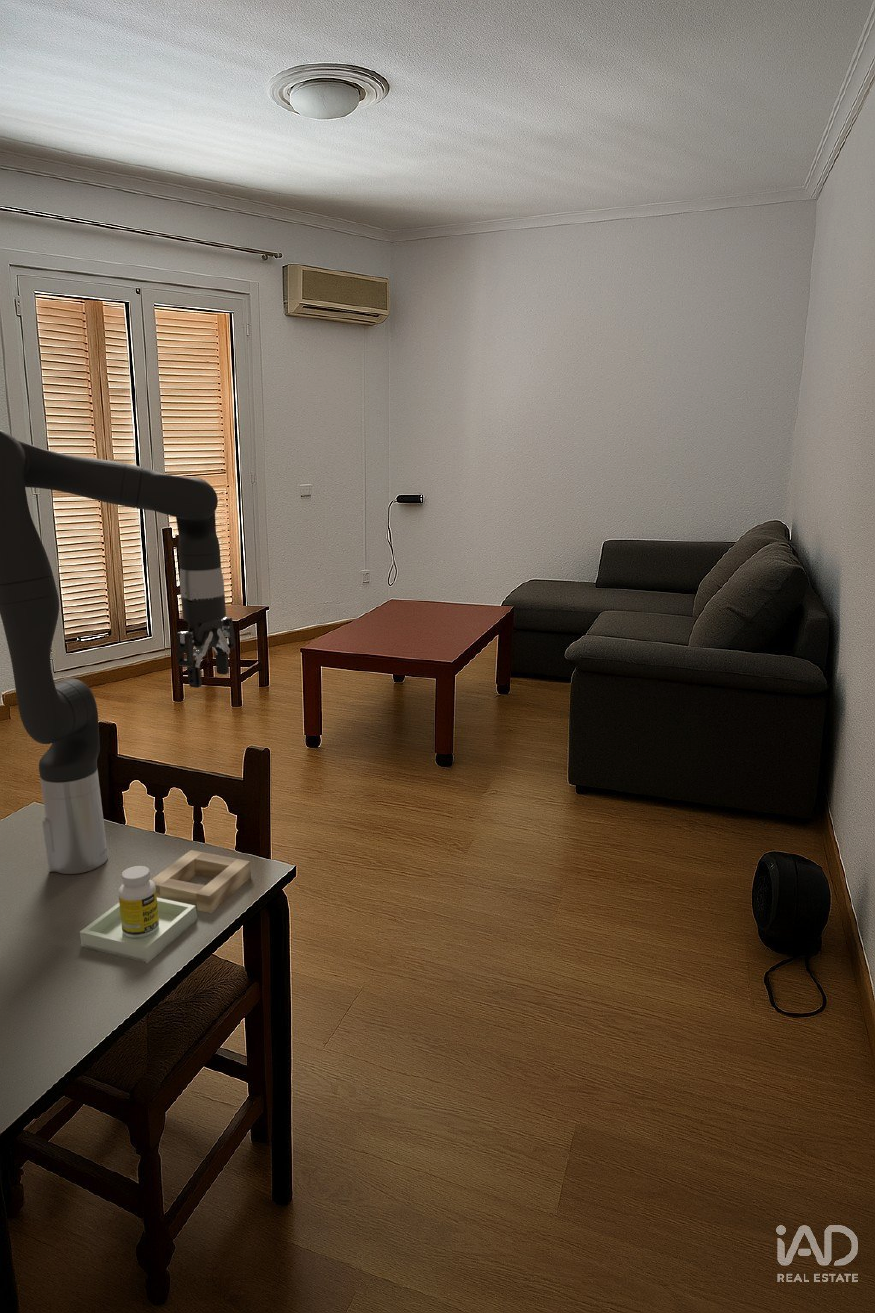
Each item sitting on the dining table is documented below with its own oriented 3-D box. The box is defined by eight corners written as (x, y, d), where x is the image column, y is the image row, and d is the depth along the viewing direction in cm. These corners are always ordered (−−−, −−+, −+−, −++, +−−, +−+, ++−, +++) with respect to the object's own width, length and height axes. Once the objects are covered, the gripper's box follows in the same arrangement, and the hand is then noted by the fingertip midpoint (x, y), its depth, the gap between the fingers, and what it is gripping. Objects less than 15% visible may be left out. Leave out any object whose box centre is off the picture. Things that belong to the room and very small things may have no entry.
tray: (147, 963, 127) (146, 948, 127) (81, 946, 131) (79, 932, 131) (196, 919, 138) (195, 905, 138) (134, 905, 142) (132, 892, 142)
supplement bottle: (148, 941, 132) (142, 883, 129) (115, 937, 133) (108, 879, 130) (166, 921, 137) (160, 865, 134) (134, 917, 138) (128, 861, 135)
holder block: (210, 913, 140) (209, 896, 139) (148, 899, 144) (146, 883, 143) (251, 877, 151) (250, 861, 150) (192, 865, 155) (190, 850, 154)
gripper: (208, 584, 163) (214, 668, 167) (159, 599, 150) (167, 689, 155) (242, 586, 161) (248, 671, 165) (196, 602, 148) (204, 693, 152)
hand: (209, 680), depth 160 cm, fingers open, 8 cm apart
